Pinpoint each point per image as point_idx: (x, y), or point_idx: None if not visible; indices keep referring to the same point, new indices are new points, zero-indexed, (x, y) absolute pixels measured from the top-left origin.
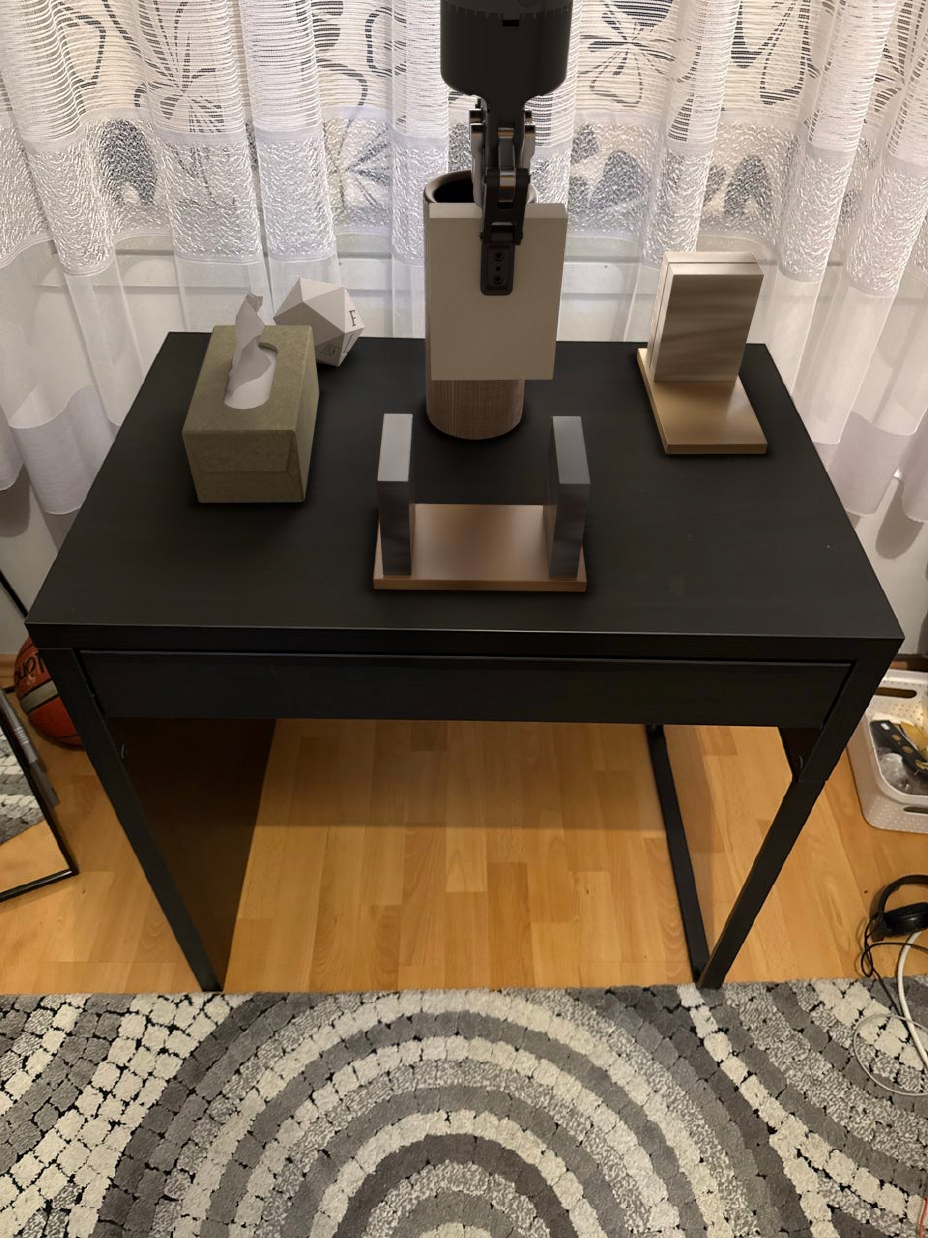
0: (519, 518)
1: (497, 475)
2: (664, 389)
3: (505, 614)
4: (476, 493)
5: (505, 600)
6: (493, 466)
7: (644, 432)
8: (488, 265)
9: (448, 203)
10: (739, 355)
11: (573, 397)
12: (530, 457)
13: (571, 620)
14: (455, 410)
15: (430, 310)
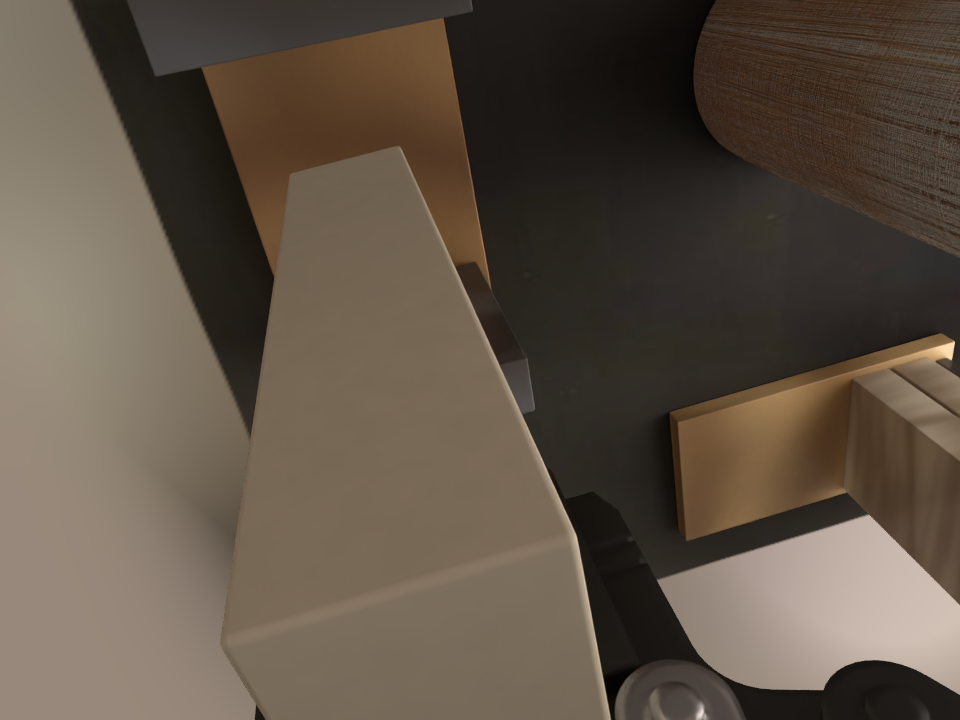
0: (438, 226)
1: (585, 147)
2: (827, 397)
3: (202, 238)
4: (524, 116)
5: (238, 231)
6: (612, 134)
7: (726, 374)
8: (256, 707)
9: (576, 668)
10: (873, 515)
11: (830, 246)
12: (646, 200)
13: (230, 342)
14: (734, 37)
15: (279, 268)
